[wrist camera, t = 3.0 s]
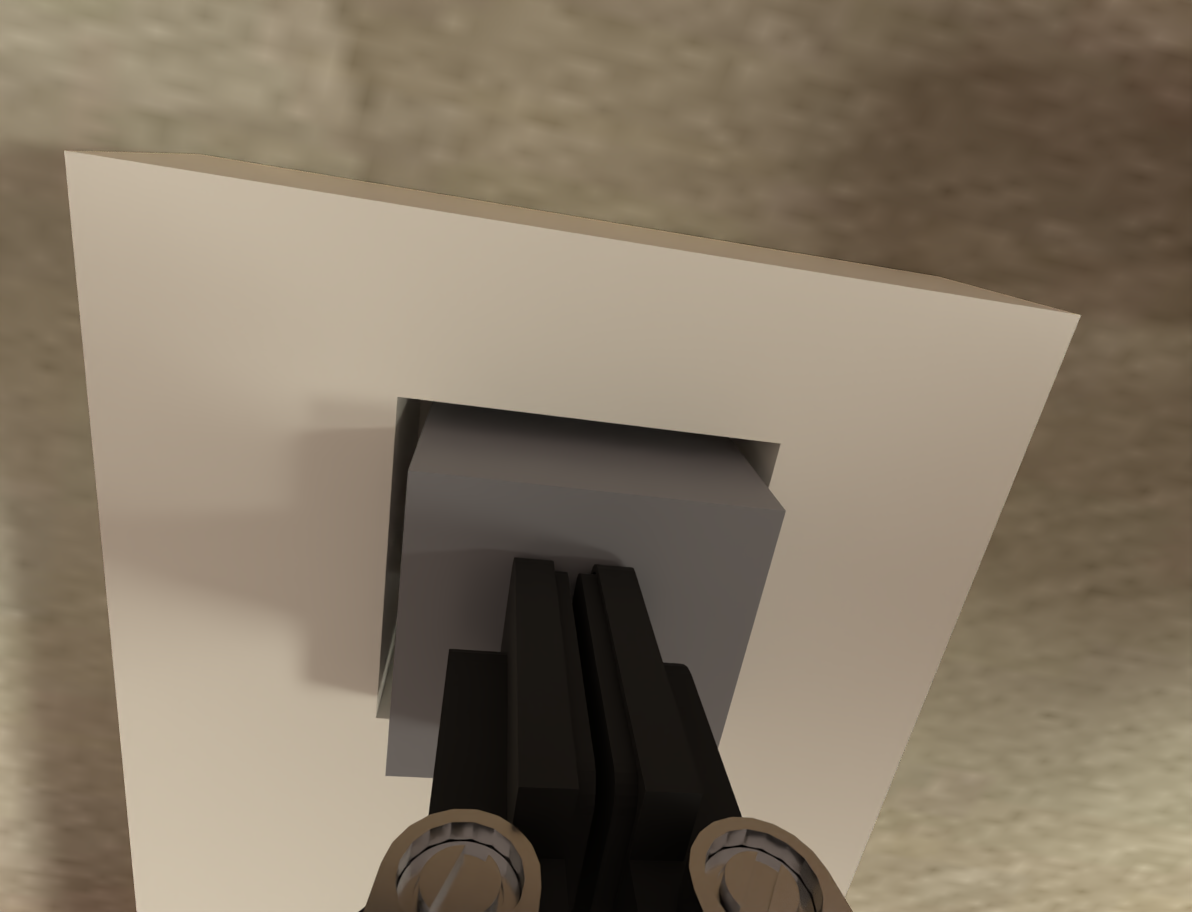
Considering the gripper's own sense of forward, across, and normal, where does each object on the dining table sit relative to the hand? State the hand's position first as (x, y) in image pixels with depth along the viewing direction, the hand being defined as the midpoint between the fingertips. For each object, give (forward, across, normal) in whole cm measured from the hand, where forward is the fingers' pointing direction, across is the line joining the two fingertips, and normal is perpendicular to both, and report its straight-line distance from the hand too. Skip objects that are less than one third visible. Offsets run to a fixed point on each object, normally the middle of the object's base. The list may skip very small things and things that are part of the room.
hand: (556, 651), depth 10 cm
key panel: (+6, 0, +6) cm, 8 cm away
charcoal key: (+3, 0, 0) cm, 3 cm away
